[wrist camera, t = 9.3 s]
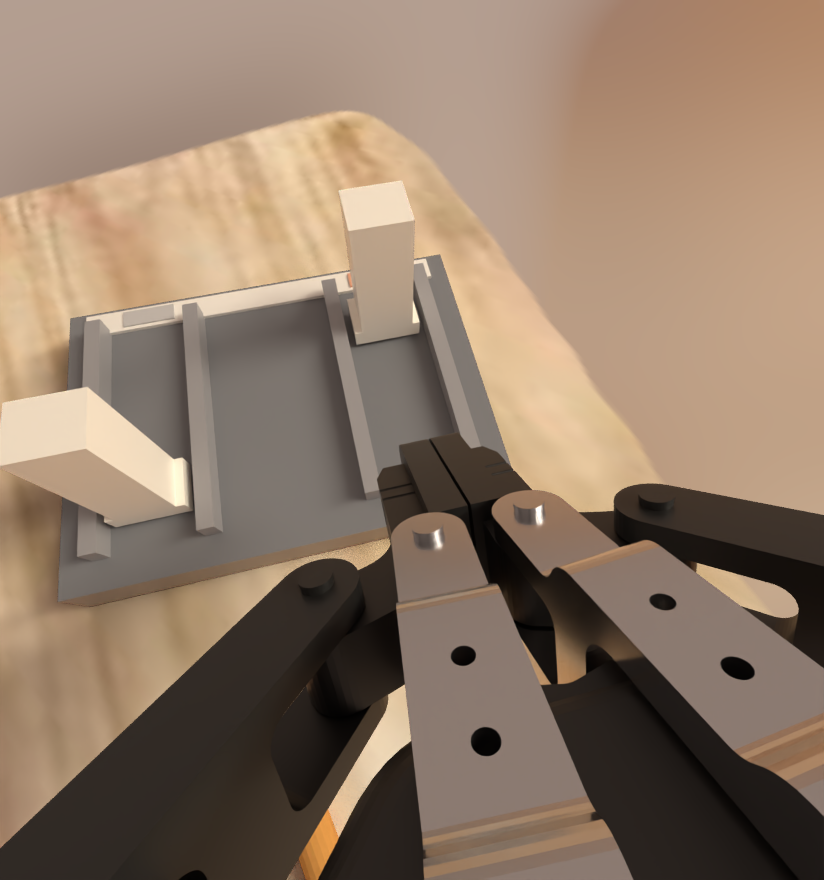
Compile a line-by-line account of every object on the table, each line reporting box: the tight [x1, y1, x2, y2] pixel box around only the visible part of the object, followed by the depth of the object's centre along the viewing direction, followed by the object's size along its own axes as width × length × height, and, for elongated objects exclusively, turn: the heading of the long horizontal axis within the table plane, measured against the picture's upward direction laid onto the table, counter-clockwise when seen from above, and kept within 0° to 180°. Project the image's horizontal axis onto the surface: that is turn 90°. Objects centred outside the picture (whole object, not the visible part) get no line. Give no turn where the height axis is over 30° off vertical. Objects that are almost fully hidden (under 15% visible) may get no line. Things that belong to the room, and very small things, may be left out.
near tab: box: [0, 387, 193, 527], centre depth 20 cm, size 4×2×8 cm, turn 103°
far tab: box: [339, 180, 420, 345], centre depth 25 cm, size 4×2×8 cm, turn 103°
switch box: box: [58, 255, 511, 607], centre depth 27 cm, size 22×16×4 cm
